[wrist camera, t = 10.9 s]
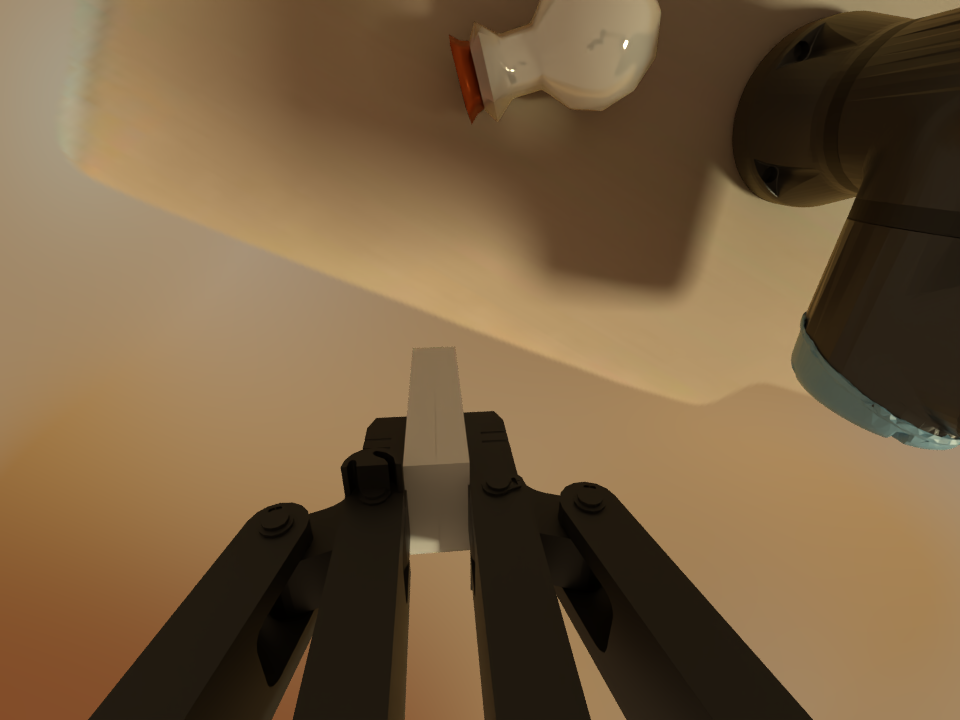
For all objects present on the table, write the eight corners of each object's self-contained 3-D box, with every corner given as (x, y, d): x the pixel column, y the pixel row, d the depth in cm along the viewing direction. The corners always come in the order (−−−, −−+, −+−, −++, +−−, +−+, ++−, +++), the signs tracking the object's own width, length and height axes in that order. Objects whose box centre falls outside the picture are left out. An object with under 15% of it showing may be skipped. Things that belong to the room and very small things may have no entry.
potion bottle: (635, 49, 40) (468, 102, 42) (645, -98, 31) (434, -23, 33) (671, 117, 35) (482, 172, 37) (695, -33, 27) (448, 49, 29)
